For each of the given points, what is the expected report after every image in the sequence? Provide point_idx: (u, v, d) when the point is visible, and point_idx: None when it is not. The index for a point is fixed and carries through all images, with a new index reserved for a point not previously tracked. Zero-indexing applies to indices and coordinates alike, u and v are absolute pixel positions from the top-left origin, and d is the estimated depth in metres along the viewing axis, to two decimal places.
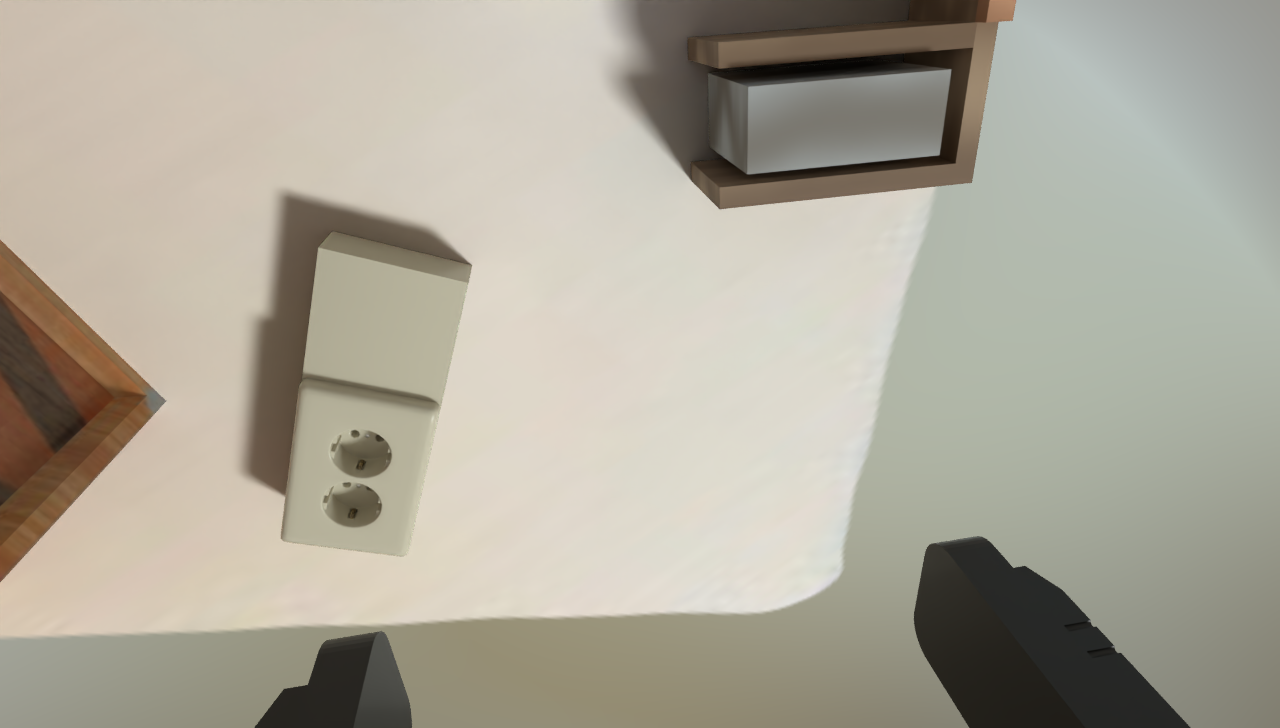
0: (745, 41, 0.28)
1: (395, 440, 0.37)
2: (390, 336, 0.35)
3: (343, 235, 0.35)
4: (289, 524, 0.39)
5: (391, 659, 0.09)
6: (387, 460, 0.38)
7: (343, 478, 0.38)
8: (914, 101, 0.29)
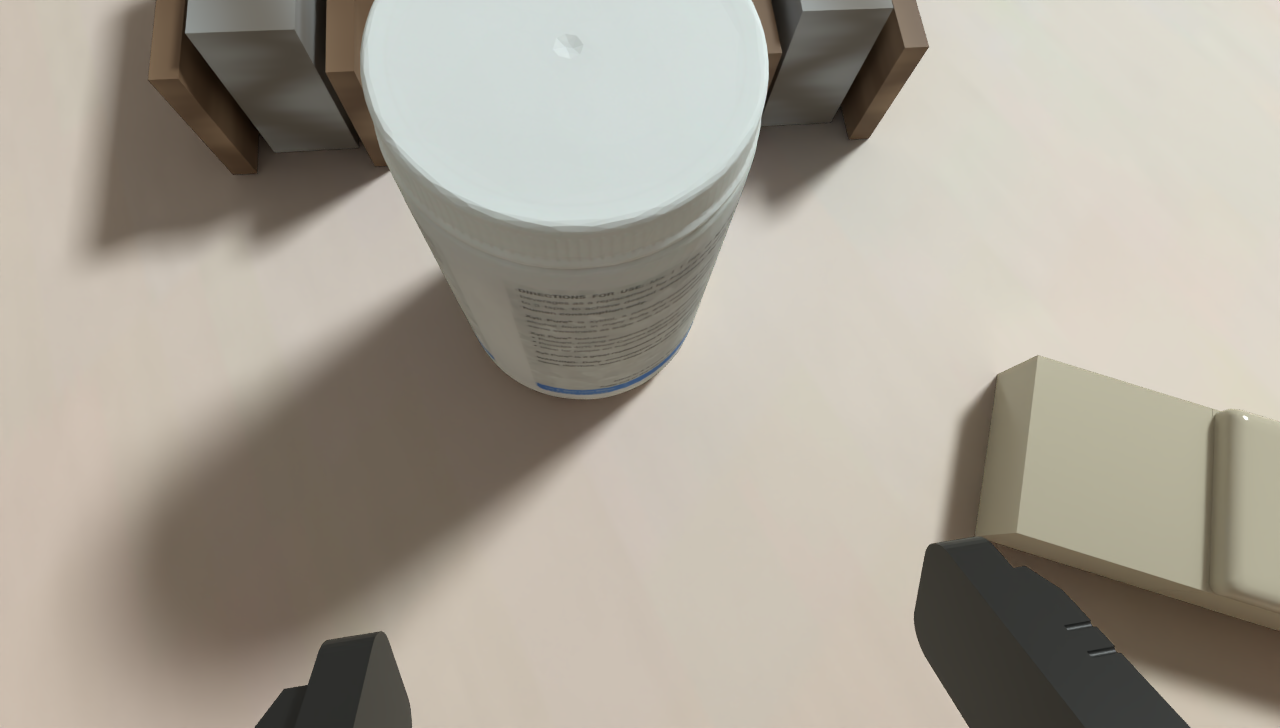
0: None
1: None
2: (1126, 461, 0.26)
3: (979, 521, 0.27)
4: None
5: (391, 659, 0.09)
6: None
7: None
8: None
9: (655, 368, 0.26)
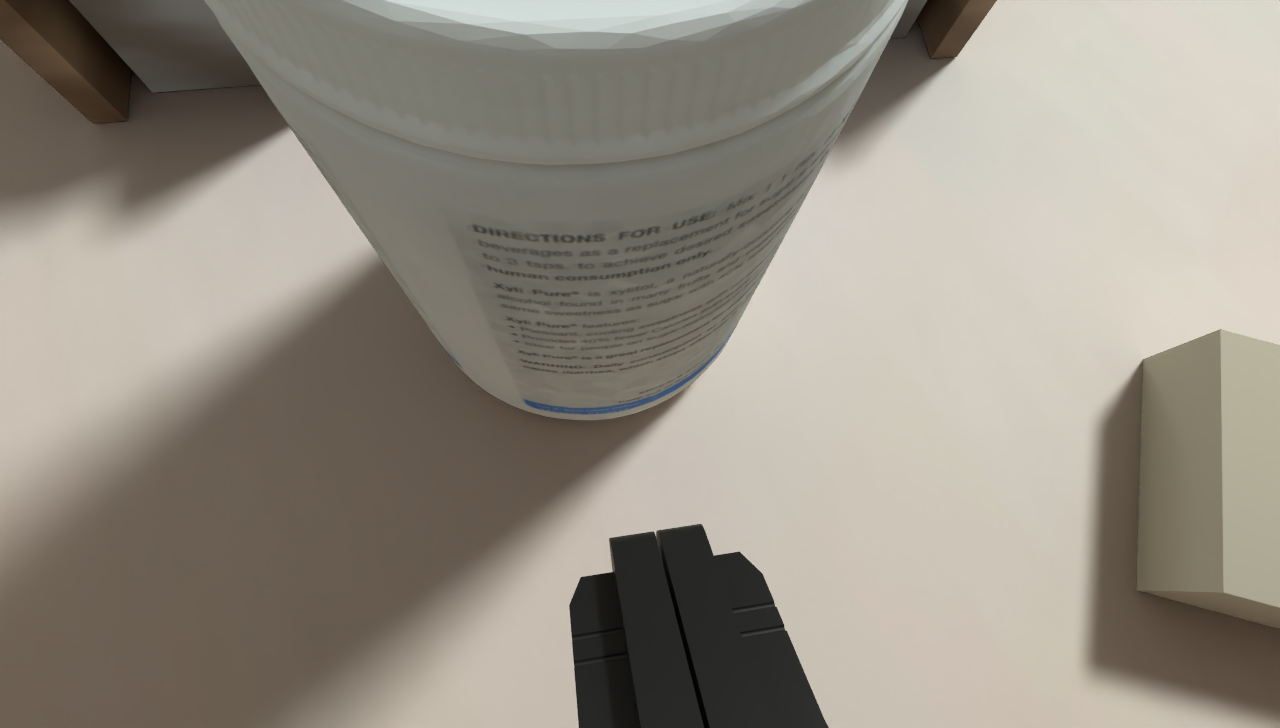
0: None
1: None
2: None
3: (1141, 568, 0.19)
4: None
5: None
6: None
7: None
8: None
9: (696, 372, 0.18)
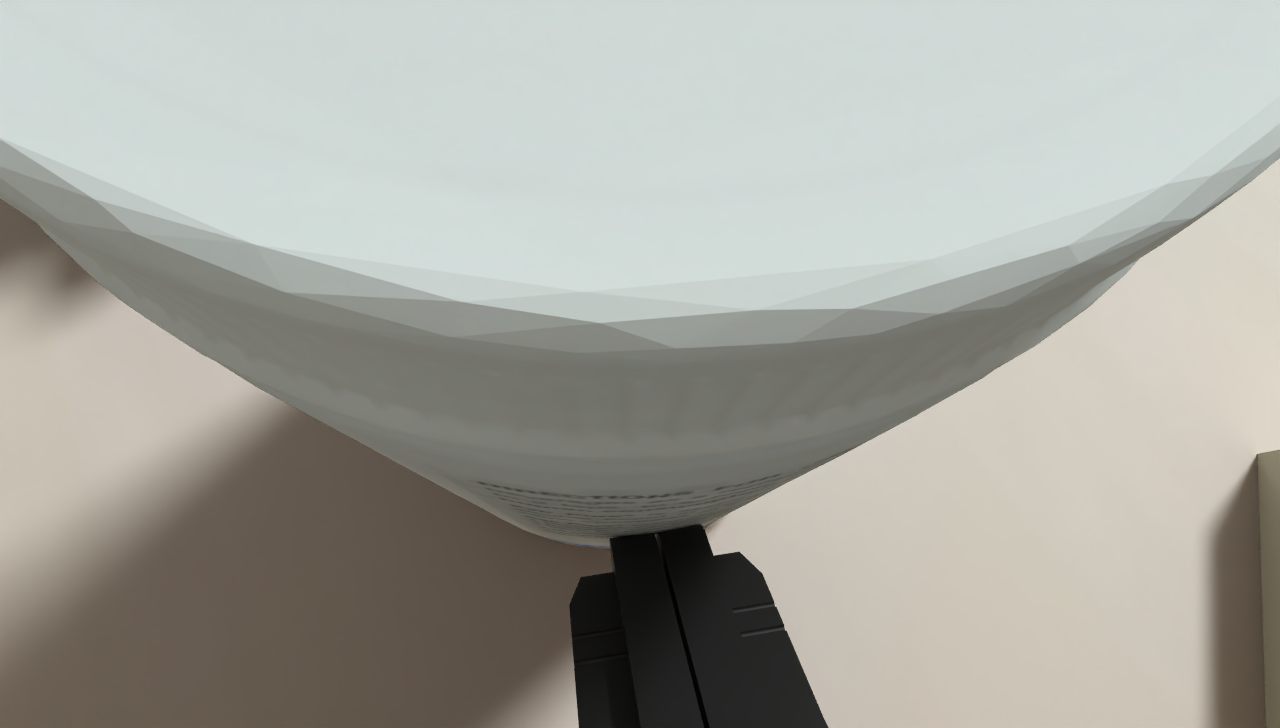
0: None
1: None
2: None
3: (1273, 722, 0.16)
4: None
5: None
6: None
7: None
8: None
9: None
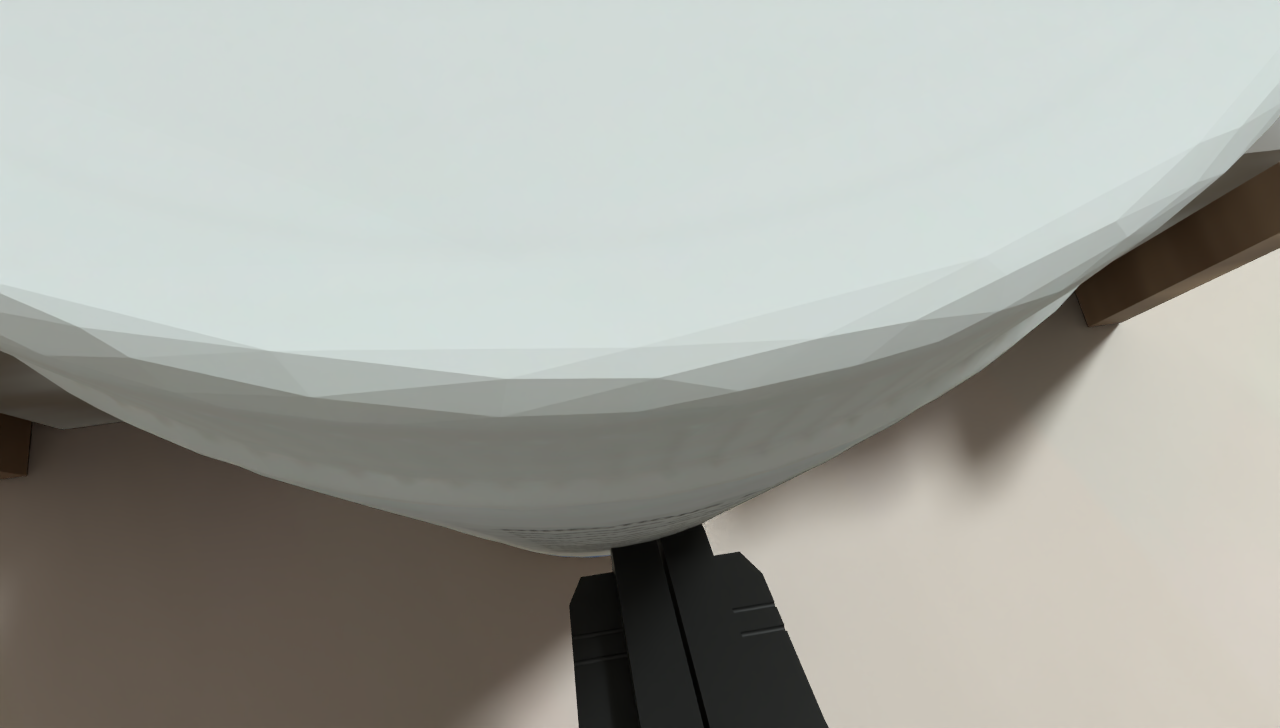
0: None
1: None
2: None
3: None
4: None
5: None
6: None
7: None
8: None
9: None
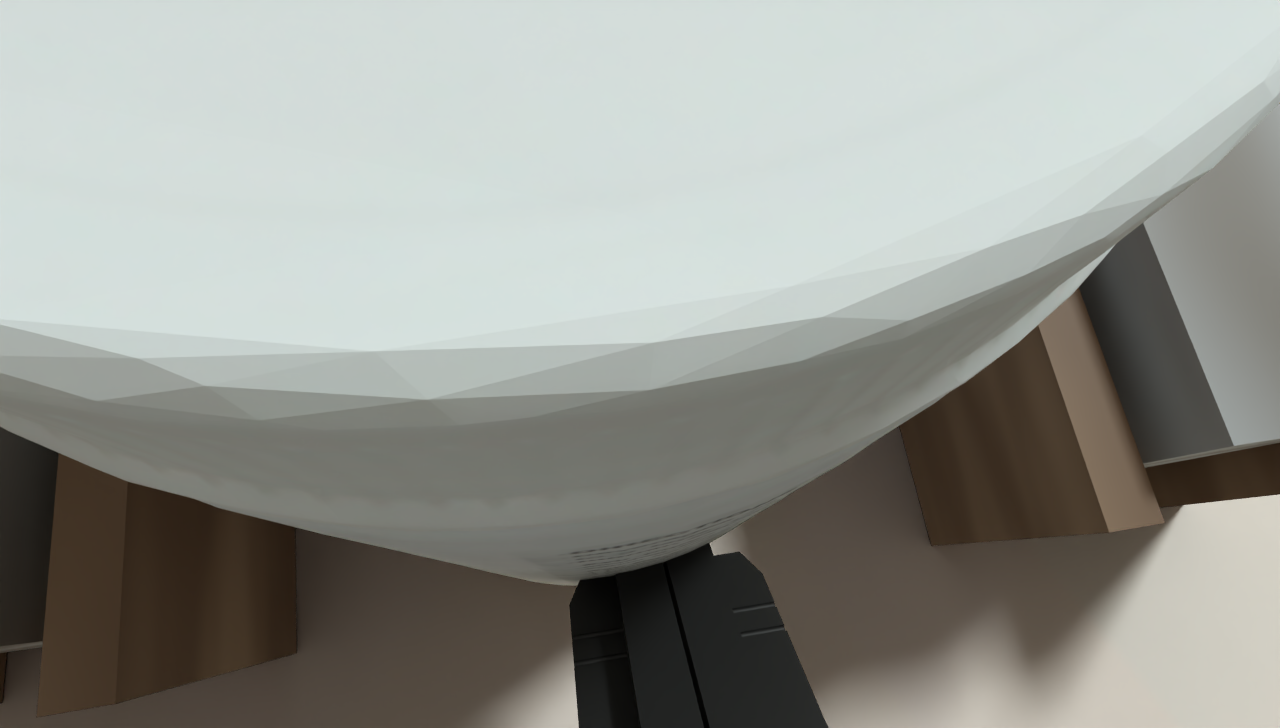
0: (1086, 461, 0.11)
1: None
2: None
3: None
4: None
5: None
6: None
7: None
8: None
9: None
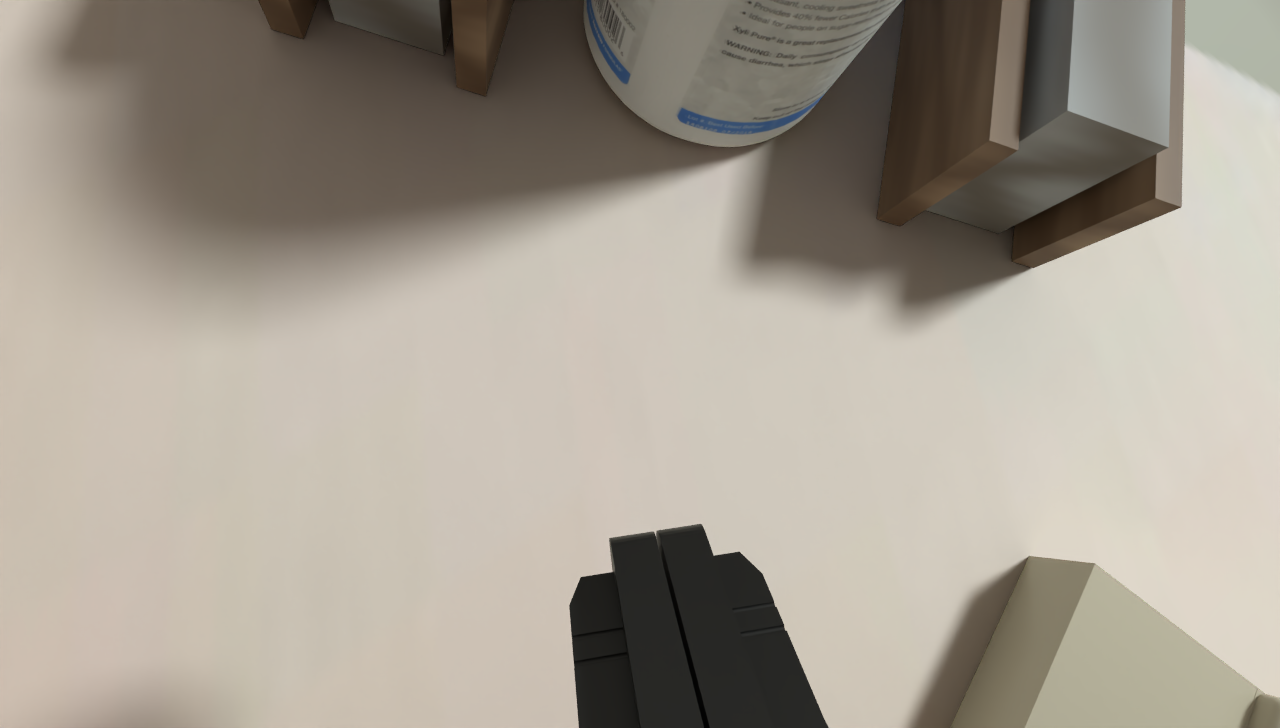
0: (993, 107, 0.20)
1: None
2: (1149, 722, 0.21)
3: (955, 725, 0.23)
4: None
5: None
6: None
7: None
8: None
9: (805, 109, 0.23)
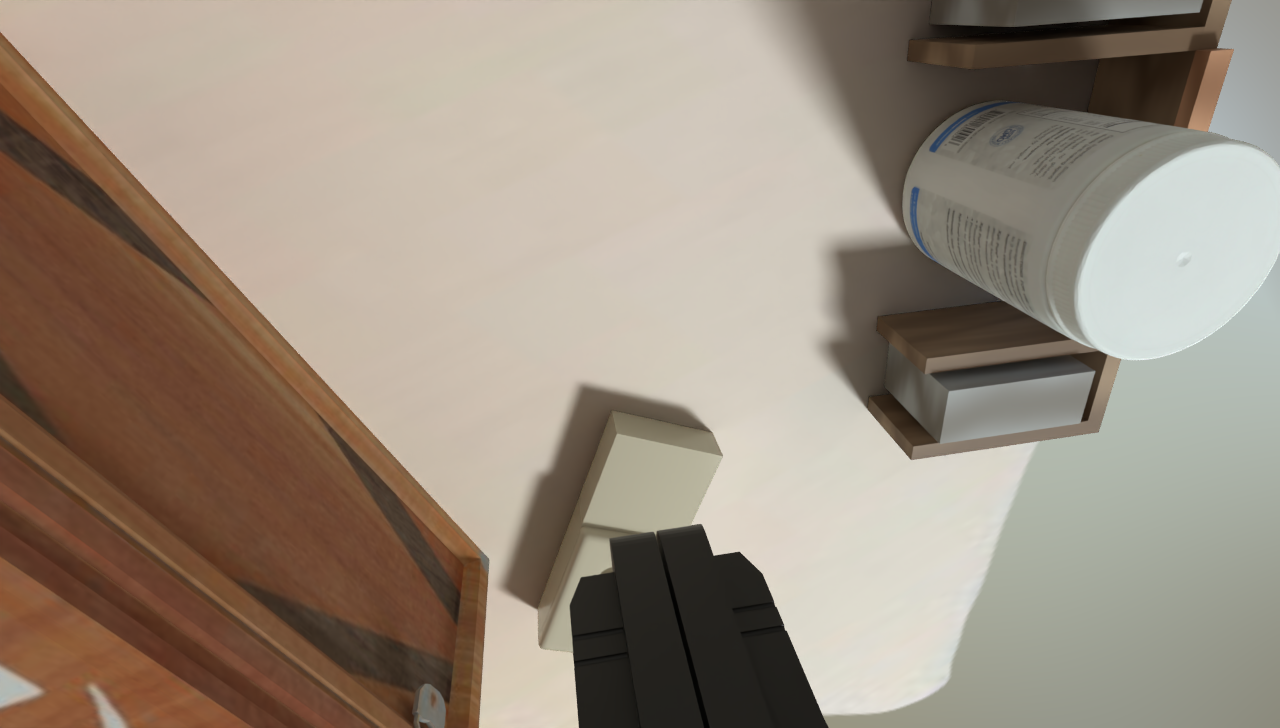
0: (946, 356, 0.38)
1: None
2: (655, 495, 0.44)
3: (620, 413, 0.44)
4: (550, 636, 0.47)
5: None
6: None
7: None
8: (1066, 392, 0.39)
9: (933, 259, 0.40)
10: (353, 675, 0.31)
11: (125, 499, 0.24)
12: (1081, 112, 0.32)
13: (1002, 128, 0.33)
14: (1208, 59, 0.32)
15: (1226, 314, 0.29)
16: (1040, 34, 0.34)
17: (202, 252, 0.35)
